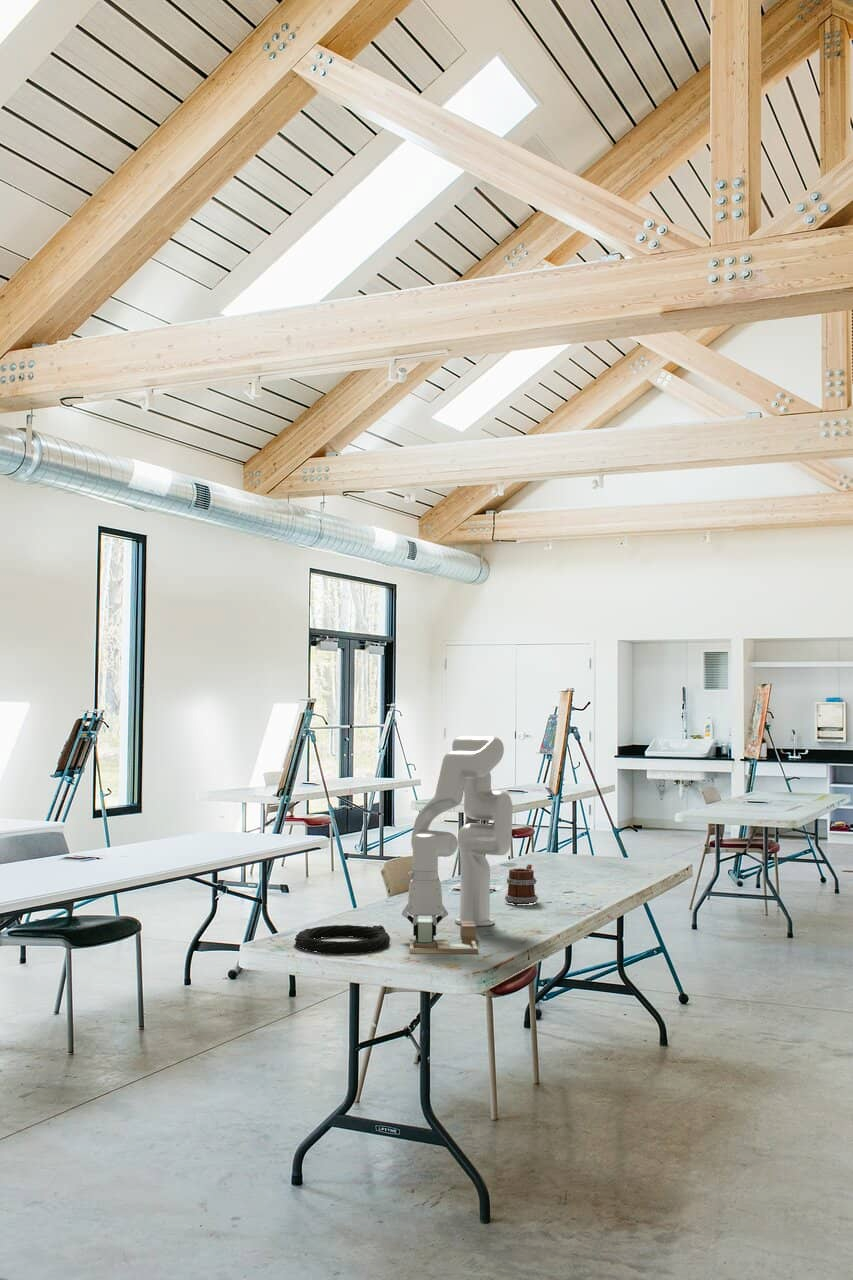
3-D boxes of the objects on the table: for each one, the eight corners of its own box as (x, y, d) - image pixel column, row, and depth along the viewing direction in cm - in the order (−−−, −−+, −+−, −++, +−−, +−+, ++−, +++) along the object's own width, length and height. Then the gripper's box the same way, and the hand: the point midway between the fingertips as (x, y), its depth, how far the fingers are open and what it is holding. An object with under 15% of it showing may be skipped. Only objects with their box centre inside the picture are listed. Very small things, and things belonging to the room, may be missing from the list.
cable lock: (274, 932, 318) (349, 919, 340) (274, 946, 318) (349, 931, 340) (341, 946, 300) (415, 931, 322) (341, 961, 300) (415, 944, 322)
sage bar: (417, 935, 332) (417, 919, 332) (430, 935, 332) (430, 919, 333) (418, 942, 323) (418, 924, 324) (431, 942, 323) (432, 924, 324)
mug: (498, 904, 390) (501, 861, 394) (512, 905, 403) (515, 863, 406) (529, 906, 385) (532, 863, 389) (543, 908, 398) (545, 865, 401)
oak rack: (409, 943, 321) (409, 939, 322) (474, 944, 322) (474, 939, 322) (410, 953, 308) (410, 948, 309) (477, 953, 309) (477, 949, 309)
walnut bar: (460, 937, 332) (460, 920, 333) (473, 937, 332) (473, 920, 333) (462, 943, 323) (462, 926, 324) (475, 943, 323) (475, 926, 324)
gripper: (397, 877, 325) (396, 940, 324) (453, 878, 325) (453, 941, 324) (397, 874, 332) (396, 935, 331) (452, 874, 333) (452, 935, 332)
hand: (424, 937), depth 328 cm, fingers closed on sage bar, 4 cm apart
